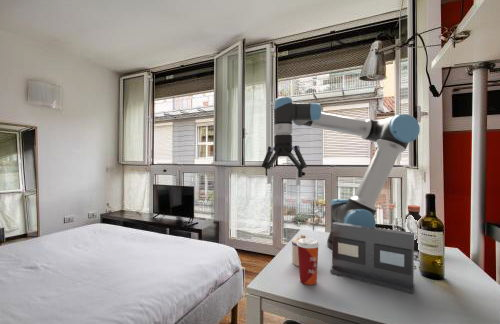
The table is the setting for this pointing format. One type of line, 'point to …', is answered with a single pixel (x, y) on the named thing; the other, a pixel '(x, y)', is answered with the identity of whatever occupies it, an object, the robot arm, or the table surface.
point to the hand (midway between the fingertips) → (283, 184)
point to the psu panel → (374, 255)
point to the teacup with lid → (296, 250)
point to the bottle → (414, 212)
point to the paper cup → (308, 260)
